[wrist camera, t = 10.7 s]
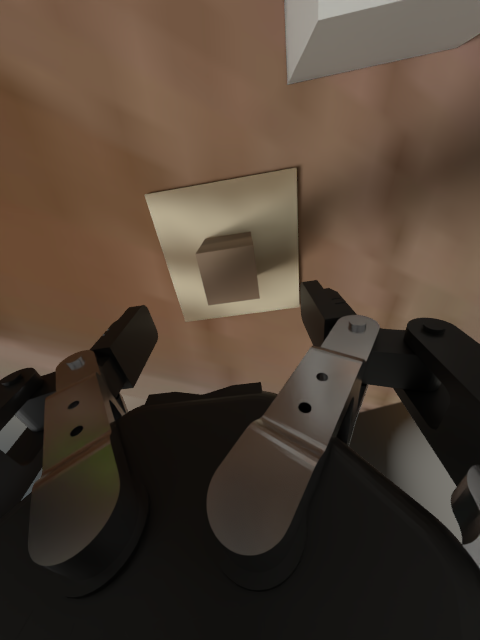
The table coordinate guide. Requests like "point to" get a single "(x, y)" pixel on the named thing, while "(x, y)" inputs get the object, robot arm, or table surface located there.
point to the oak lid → (231, 244)
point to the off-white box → (371, 32)
